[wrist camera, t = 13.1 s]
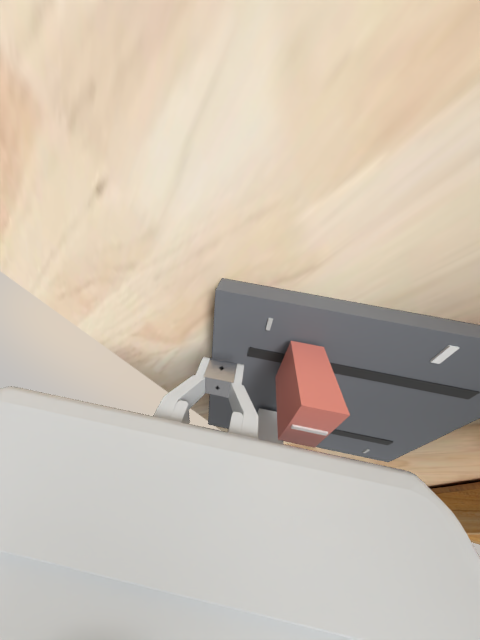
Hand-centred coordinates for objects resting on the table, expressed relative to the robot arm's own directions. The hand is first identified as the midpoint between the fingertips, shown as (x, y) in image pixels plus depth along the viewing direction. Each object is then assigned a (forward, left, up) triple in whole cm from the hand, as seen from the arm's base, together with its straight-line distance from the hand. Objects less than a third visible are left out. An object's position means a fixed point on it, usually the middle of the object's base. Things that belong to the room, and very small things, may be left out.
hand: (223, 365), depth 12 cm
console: (-11, +5, -4) cm, 13 cm away
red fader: (-6, 0, -2) cm, 6 cm away
